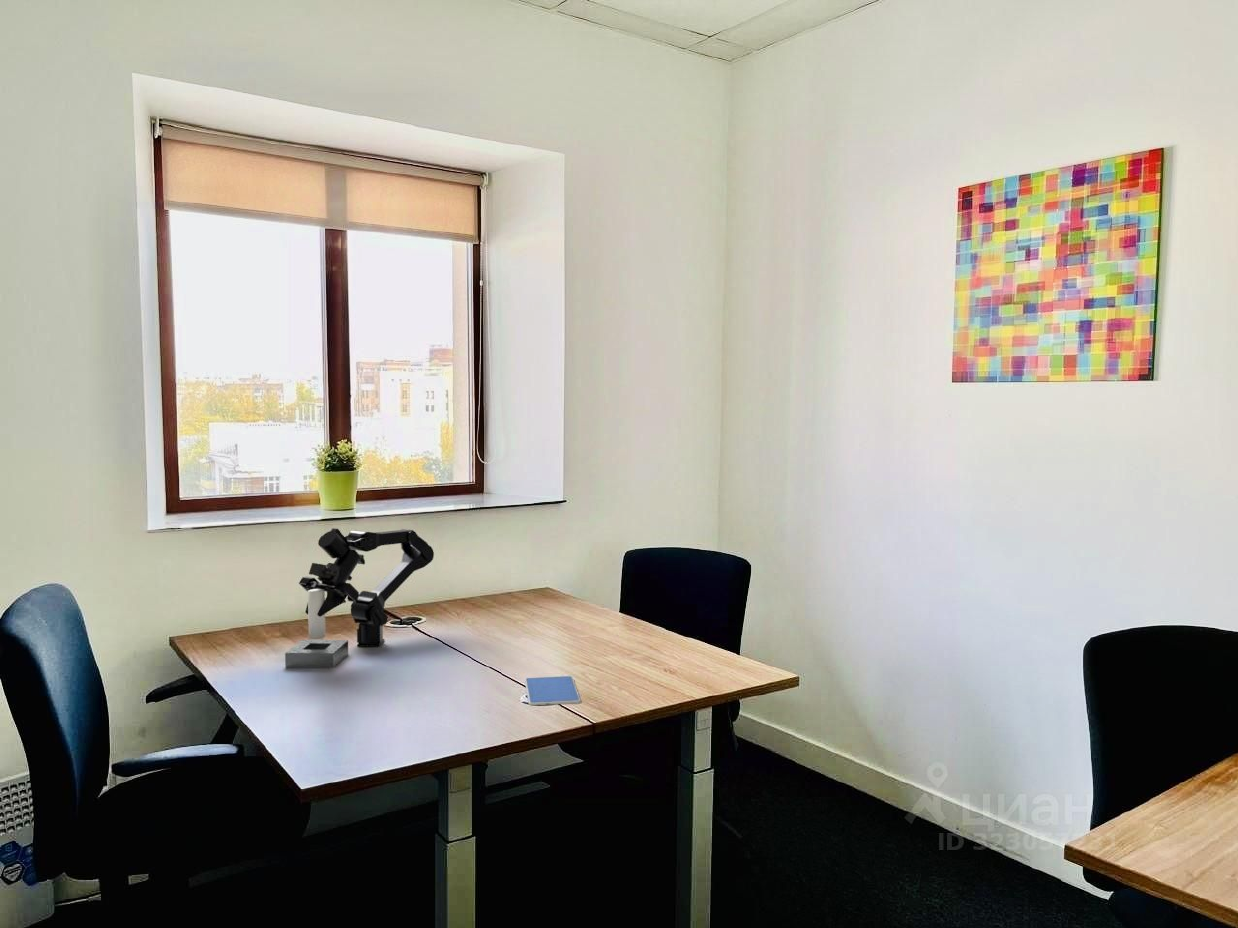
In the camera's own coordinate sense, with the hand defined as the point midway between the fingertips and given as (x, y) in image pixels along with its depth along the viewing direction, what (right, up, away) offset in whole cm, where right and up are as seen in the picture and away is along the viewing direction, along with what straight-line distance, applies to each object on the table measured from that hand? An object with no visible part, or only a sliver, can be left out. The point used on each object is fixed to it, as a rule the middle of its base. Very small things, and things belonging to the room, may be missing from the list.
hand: (312, 614), depth 252 cm
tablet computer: (+67, -16, -23) cm, 73 cm away
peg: (+1, -6, +2) cm, 7 cm away
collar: (+1, -13, +2) cm, 13 cm away
